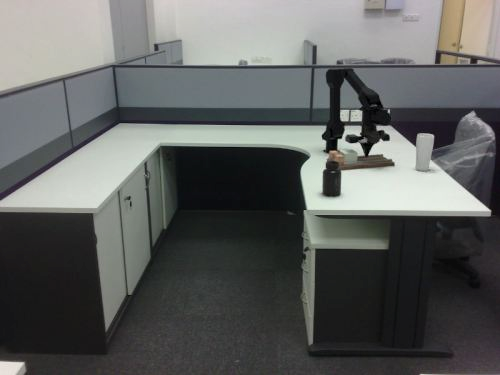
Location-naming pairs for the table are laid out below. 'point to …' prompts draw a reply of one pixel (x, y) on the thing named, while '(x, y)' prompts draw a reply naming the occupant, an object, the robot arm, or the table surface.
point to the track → (360, 161)
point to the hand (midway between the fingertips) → (366, 156)
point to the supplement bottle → (331, 179)
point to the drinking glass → (424, 151)
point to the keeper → (349, 155)
